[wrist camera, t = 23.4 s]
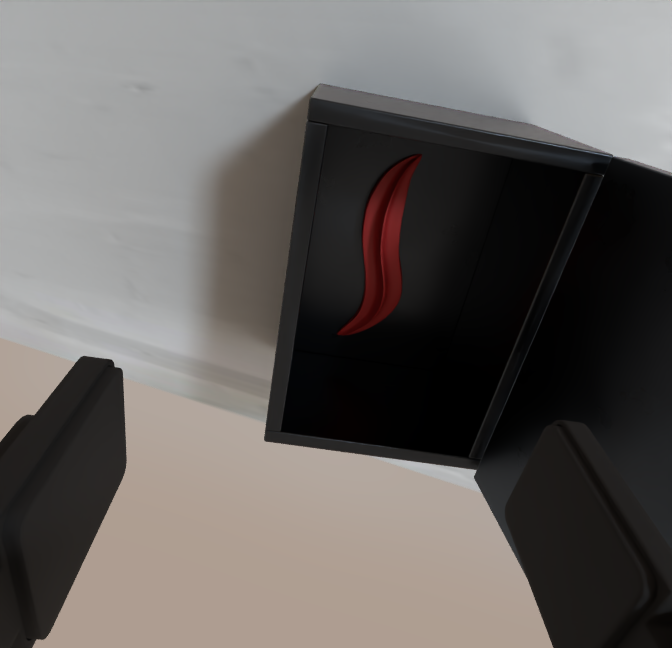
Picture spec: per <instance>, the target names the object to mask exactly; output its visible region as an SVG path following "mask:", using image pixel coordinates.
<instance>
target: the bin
mask: <svg viewBox="0 0 672 648" xmlns="http://www.w3.org/2000/svg"><path fill="white" fill-rule="evenodd" d="M307 119H308V121H307V123H306V131H305V138H304V146H303V153H302V161H301V168H300V176H299V183H298V190H297V198H296V205H295V213H294V220H293V228H292V235H291V243H290V250H289V257H288V265H287V272H286V280H285V287H284V295H283V302H282V310H281V317H280V324H279V332H278V339H277V347H276V354H275V362H274V369H273V376H272V384H271V391H270V399H269V406H268V414H267V421H266V429H265V436H264V440H265V441H266V442H274V443H281V444H289V445H296V446H303V447H311V448H319V449H326V450H333V451H341V452H348V453H355V454H362V455H370V456H377V457H385V458H392V459H399V460H407V461H414V462H422V463H429V464H436V465H444V466H451V467H459V468H466V469H474V470H477V469H478V466H479V464H480V462H481V459H482V457H483V455H484V452H485V450H486V448H487V446H488V443H489V441H490V439H491V436H492V434H493V432H494V429H495V427H496V425H497V422H498V420H499V418H500V415H501V413H502V411H503V408H504V406H505V404H506V401H507V399H508V397H509V395H510V392H511V390H512V388H513V385H514V383H515V381H516V378H517V376H518V374H519V371H520V369H521V367H522V364H523V362H524V360H525V357H526V355H527V353H528V350H529V348H530V346H531V344H532V341H533V339H534V337H535V334H536V332H537V330H538V327H539V325H540V323H541V320H542V318H543V316H544V313H545V311H546V309H547V306H548V304H549V302H550V299H551V297H552V295H553V293H554V290H555V288H556V286H557V283H558V281H559V279H560V276H561V274H562V272H563V269H564V267H565V265H566V262H567V260H568V258H569V255H570V253H571V251H572V248H573V246H574V244H575V242H576V239H577V237H578V235H579V232H580V230H581V228H582V225H583V223H584V221H585V218H586V216H587V214H588V211H589V209H590V207H591V204H592V202H593V200H594V197H595V195H596V193H597V191H598V188H599V186H600V184H601V181H602V179H603V175H604V174H605V172H606V170H607V167H608V165H609V163H610V160H611V158H612V157H613V155H612V154H609V153H607V152H604V151H601V150H599V149H596V148H593V147H591V146H588V145H585V144H583V143H580V142H577V141H575V140H572V139H570V138H567V137H564V136H562V135H559V134H556V133H554V132H551V131H548V130H546V129H543V128H540V127H538V126H535V125H532V124H527V123H522V122H516V121H511V120H506V119H501V118H496V117H491V116H485V115H480V114H475V113H470V112H465V111H460V110H454V109H449V108H444V107H439V106H434V105H428V104H423V103H418V102H413V101H408V100H403V99H397V98H392V97H387V96H382V95H377V94H372V93H366V92H361V91H356V90H351V89H346V88H340V87H335V86H330V85H325V84H319V86H318V87H317V89H316V90H315V92H314V93H313V95H312V96H311V98H310V101H309V109H308V116H307ZM416 154H422V158H421V160H420V162H419V164H418V165H417V167H416V169H415V171H414V173H413V175H412V178H411V181H410V184H409V188H408V192H407V197H406V202H405V206H404V211H403V216H402V221H401V229H400V240H399V256H400V263H401V269H402V294H401V297H400V300H399V302H398V304H397V306H396V307H395V309H394V310H393V311H392V312H391V313H390V314H389V315H388V316H387V317H386V318H385V319H383V320H382V321H381V322H379V323H378V324H376V325H374V326H372V327H370V328H368V329H366V330H363V331H361V332H358V333H355V334H352V335H338V334H337V332H338V331H339V330H340V329H341V328H342V327H343V326H344V325H345V324H346V323H347V322H348V321H350V320H351V319H352V317H353V316H354V315H355V314H356V312H357V311H358V309H359V307H360V305H361V302H362V299H363V295H364V288H365V267H364V257H363V247H362V225H363V217H364V212H365V207H366V204H367V201H368V198H369V196H370V194H371V192H372V190H373V188H374V186H375V185H376V183H377V182H378V180H379V179H380V177H381V176H382V175H383V174H384V173H385V172H386V171H387V170H388V169H389V168H390V167H392V166H393V165H395V164H396V163H398V162H399V161H401V160H403V159H405V158H407V157H409V156H412V155H416Z"/></svg>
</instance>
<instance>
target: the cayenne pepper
mask: <svg viewBox="0 0 672 648" xmlns="http://www.w3.org/2000/svg"><path fill="white" fill-rule="evenodd" d="M421 158H422V154H416V155H412V156H409V157H407V158H405V159H403V160H401V161H399V162H398V163H396V164H395V165H393V166H392V167H390V168H389V169H388V170H387V171H386V172H385V173H384V174H383V175H382V176H381V177H380V179H379V180H378V182H377V183H376V185H375V186H374V188H373V190H372V192H371V194H370V196H369V198H368V201H367V204H366V207H365V212H364V217H363V225H362V247H363V257H364V267H365V288H364V295H363V299H362V302H361V305H360V307H359V309H358V311H357V312H356V314H355V315H354V316H353V317H352V319H351V320H350V321H348V322H347V323H346V324H345V325H344V326H343V327H342V328H341V329H340V330H339V331H338V332H337V334H338V335H352V334H355V333H358V332H361V331H363V330H366V329H368V328H370V327H372V326H374V325H376V324H378V323H379V322H381V321H382V320H383V319H385V318H386V317H387V316H388V315H389V314H390V313H391V312H392V311H393V310H394V309H395V307H396V306H397V304H398V302H399V300H400V297H401V294H402V269H401V263H400V256H399V240H400V229H401V221H402V216H403V211H404V206H405V202H406V197H407V192H408V188H409V184H410V181H411V178H412V175H413V173H414V171H415V169H416V167H417V165H418V164H419V162H420V160H421Z"/></svg>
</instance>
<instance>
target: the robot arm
mask: <svg viewBox="0 0 672 648" xmlns="http://www.w3.org/2000/svg"><path fill="white" fill-rule="evenodd" d="M125 469H126V437H125V414H124V391H123V372H122V369H121V368H117V367H115V366H114V362H113V361H112V360H110V359H102V358H95V357H87V356H83V357H81V358H80V359H79V360H78V361H77V362H76V363H75V365H74V366H73V367H72V369H71V370H70V371H69V372H68V374H67V375H66V376H65V377H64V379H63V380H62V381H61V382H60V384H59V385H58V386H57V387H56V389H55V390H54V391H53V393H52V394H51V395H50V396H49V398H48V399H47V400H46V401H45V403H44V404H43V405H42V406H41V408H40V409H39V410H38V412H37V413H36V414H35V415H26V416H23V417H22V418H21V419H20V420H19V421H17V422H16V424H15V425H14V426H13V427H12V428H11V430H10V431H9V432H8V433H7V434H6V436H5V437H4V438H3V439H2V441H1V442H0V648H32V647H33V645H34V643H35V641H36V639H41V640H43V639H45V638H46V637H47V636H48V634H49V633H50V631H51V629H52V627H53V625H54V623H55V621H56V619H57V617H58V614H59V612H60V610H61V608H62V606H63V604H64V602H65V599H66V597H67V595H68V593H69V591H70V589H71V587H72V585H73V582H74V580H75V578H76V576H77V574H78V572H79V570H80V568H81V565H82V563H83V561H84V559H85V557H86V555H87V553H88V551H89V549H90V547H91V544H92V542H93V540H94V538H95V536H96V534H97V532H98V529H99V527H100V525H101V523H102V521H103V519H104V517H105V515H106V513H107V510H108V508H109V506H110V504H111V502H112V500H113V498H114V496H115V493H116V491H117V489H118V487H119V485H120V483H121V481H122V478H123V476H124V473H125ZM505 520H506V523H507V526H508V528H509V531H510V534H511V536H512V539H513V542H514V544H515V547H516V549H517V552H518V555H519V557H520V560H521V563H522V565H523V568H524V571H525V573H526V576H527V579H528V581H529V584H530V587H531V589H532V592H533V595H534V597H535V600H536V603H537V605H538V608H539V610H540V613H541V616H542V618H543V621H544V624H545V627H546V629H547V632H548V634H549V637H550V640H551V642H552V645H553V647H554V648H672V549H671V548H670V546H669V545H668V544H667V542H666V541H665V539H664V538H663V536H662V535H661V533H660V532H659V530H658V529H657V527H656V526H655V525H654V523H653V522H652V520H651V519H650V517H649V516H648V514H647V513H646V511H645V510H644V508H643V507H642V506H641V504H640V503H639V501H638V500H637V498H636V497H635V495H634V494H633V492H632V491H631V489H630V488H629V487H628V485H627V484H626V482H625V481H624V479H623V478H622V476H621V475H620V473H619V472H618V470H617V469H616V468H615V466H614V465H613V463H612V462H611V460H610V459H609V457H608V456H607V454H606V453H605V451H604V450H603V449H602V447H601V446H600V444H599V443H598V441H597V440H596V438H595V437H594V435H593V434H592V432H591V431H590V430H589V428H588V427H587V426H586V425H585V424H583V423H580V422H572V421H565V420H556V421H555V422H553V423H552V425H548V426H546V427H545V429H544V430H543V432H542V434H541V436H540V438H539V440H538V442H537V444H536V446H535V448H534V450H533V452H532V454H531V456H530V458H529V460H528V462H527V464H526V466H525V468H524V470H523V472H522V474H521V476H520V478H519V480H518V481H517V483H516V485H515V487H514V489H513V491H512V493H511V495H510V497H509V499H508V501H507V503H506V506H505Z"/></svg>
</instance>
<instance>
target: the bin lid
mask: <svg viewBox="0 0 672 648" xmlns="http://www.w3.org/2000/svg"><path fill="white" fill-rule="evenodd" d="M556 420H565V421H572V422H580V423H583V424H585V425H586V426H587V427H588V428H589V430H590V431H591V432H592V434H593V435H594V437H595V438H596V440H597V441H598V443H599V444H600V446H601V447H602V449H603V450H604V451H605V453H606V454H607V456H608V457H609V459H610V460H611V462H612V463H613V465H614V466H615V468H616V469H617V470H618V472H619V473H620V475H621V476H622V478H623V479H624V481H625V482H626V484H627V485H628V487H629V488H630V489H631V491H632V492H633V494H634V495H635V497H636V498H637V500H638V501H639V503H640V504H641V506H642V507H643V508H644V510H645V511H646V513H647V514H648V516H649V517H650V519H651V520H652V522H653V523H654V525H655V526H656V527H657V529H658V530H659V532H660V533H661V535H662V536H663V538H664V539H665V541H666V542H667V544H668V545H669V546H670V548H671V549H672V173H671V172H668V171H665V170H661V169H658V168H655V167H652V166H649V165H646V164H643V163H640V162H637V161H634V160H631V159H626V158H620V157H612V158H611V160H610V163H609V165H608V167H607V170H606V172H605V174H604V177H603V179H602V181H601V184H600V186H599V188H598V191H597V193H596V195H595V197H594V200H593V202H592V204H591V207H590V209H589V211H588V214H587V216H586V218H585V221H584V223H583V225H582V228H581V230H580V232H579V235H578V237H577V239H576V242H575V244H574V246H573V248H572V251H571V253H570V255H569V258H568V260H567V262H566V265H565V267H564V269H563V272H562V274H561V276H560V279H559V281H558V283H557V286H556V288H555V290H554V293H553V295H552V297H551V299H550V302H549V304H548V306H547V309H546V311H545V313H544V316H543V318H542V320H541V323H540V325H539V327H538V330H537V332H536V334H535V337H534V339H533V341H532V344H531V346H530V348H529V350H528V353H527V355H526V357H525V360H524V362H523V364H522V367H521V369H520V371H519V374H518V376H517V378H516V381H515V383H514V385H513V388H512V390H511V392H510V395H509V397H508V399H507V401H506V404H505V406H504V408H503V411H502V413H501V415H500V418H499V420H498V422H497V425H496V427H495V429H494V432H493V434H492V436H491V439H490V441H489V443H488V446H487V448H486V450H485V452H484V455H483V457H482V459H481V462H480V464H479V466H478V469H477V471H476V473H475V476H474V479H475V481H476V482H477V484H478V486H479V488H480V490H481V492H482V494H483V496H484V498H485V499H486V501H487V503H488V505H489V507H490V509H491V511H492V513H493V515H494V516H495V518H496V520H497V522H498V524H499V526H500V528H501V529H502V532H503V533H504V535H505V537H506V539H507V541H508V543H509V545H510V547H511V548H512V551H513V552H514V554H515V556H516V558H517V560H518V562H519V564H520V566H521V568H522V569H523V571H524V568H523V565H522V563H521V560H520V557H519V555H518V552H517V549H516V547H515V544H514V542H513V539H512V536H511V534H510V531H509V528H508V526H507V523H506V520H505V506H506V503H507V501H508V499H509V497H510V495H511V493H512V491H513V489H514V487H515V485H516V483H517V481H518V480H519V478H520V476H521V474H522V472H523V470H524V468H525V466H526V464H527V462H528V460H529V458H530V456H531V454H532V452H533V450H534V448H535V446H536V444H537V442H538V440H539V438H540V436H541V434H542V432H543V430H544V429H545V427H546V426H548V425H552V423H553V422H555V421H556ZM524 573H525V571H524ZM525 575H526V573H525ZM526 577H527V576H526Z"/></svg>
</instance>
